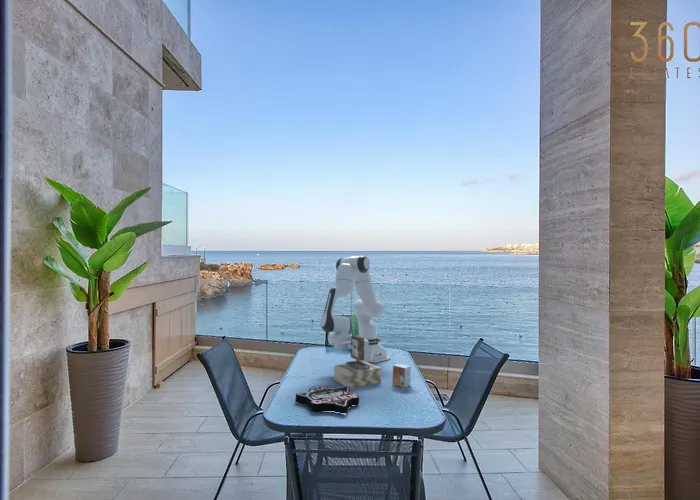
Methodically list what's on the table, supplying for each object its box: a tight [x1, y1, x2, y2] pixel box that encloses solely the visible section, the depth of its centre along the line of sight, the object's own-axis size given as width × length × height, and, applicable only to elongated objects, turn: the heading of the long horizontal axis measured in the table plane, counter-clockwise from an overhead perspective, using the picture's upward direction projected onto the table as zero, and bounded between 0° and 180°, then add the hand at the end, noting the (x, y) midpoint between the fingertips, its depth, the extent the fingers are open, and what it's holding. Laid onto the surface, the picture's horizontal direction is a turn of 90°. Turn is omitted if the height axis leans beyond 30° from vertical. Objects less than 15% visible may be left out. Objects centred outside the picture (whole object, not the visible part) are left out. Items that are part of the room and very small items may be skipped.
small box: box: [392, 363, 412, 389], centre depth 231 cm, size 8×6×10 cm
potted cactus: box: [349, 312, 359, 336], centre depth 322 cm, size 15×15×25 cm
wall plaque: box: [295, 385, 360, 414], centre depth 201 cm, size 28×4×30 cm
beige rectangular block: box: [333, 360, 382, 389], centre depth 237 cm, size 20×16×10 cm
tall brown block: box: [350, 334, 364, 362], centre depth 237 cm, size 4×8×12 cm, turn 30°
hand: (358, 346), depth 236 cm, fingers closed on tall brown block, 4 cm apart
